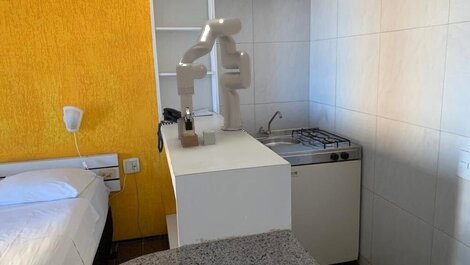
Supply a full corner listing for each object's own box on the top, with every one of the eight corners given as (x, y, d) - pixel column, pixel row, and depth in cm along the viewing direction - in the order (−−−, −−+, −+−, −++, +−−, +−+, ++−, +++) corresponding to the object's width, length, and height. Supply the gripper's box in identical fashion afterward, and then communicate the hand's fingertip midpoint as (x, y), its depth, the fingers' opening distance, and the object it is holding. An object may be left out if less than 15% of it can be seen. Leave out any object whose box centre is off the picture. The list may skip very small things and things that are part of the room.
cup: (192, 140, 185) (190, 120, 183) (176, 140, 186) (174, 120, 185) (197, 136, 193) (195, 117, 191) (182, 136, 195) (180, 117, 193)
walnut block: (181, 144, 176) (180, 134, 176) (196, 143, 178) (195, 132, 177) (183, 147, 170) (182, 137, 169) (198, 146, 172) (197, 135, 171)
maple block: (183, 134, 175) (182, 121, 174) (194, 133, 176) (193, 121, 175) (183, 136, 170) (182, 123, 169) (194, 135, 171) (193, 122, 170)
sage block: (203, 143, 177) (203, 130, 176) (214, 142, 178) (213, 130, 176) (204, 145, 172) (203, 132, 171) (215, 144, 173) (214, 131, 172)
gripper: (177, 90, 177) (180, 125, 180) (177, 93, 160) (180, 132, 164) (193, 89, 178) (195, 124, 181) (195, 92, 161) (197, 131, 165)
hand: (188, 128), depth 172 cm, fingers open, 9 cm apart
